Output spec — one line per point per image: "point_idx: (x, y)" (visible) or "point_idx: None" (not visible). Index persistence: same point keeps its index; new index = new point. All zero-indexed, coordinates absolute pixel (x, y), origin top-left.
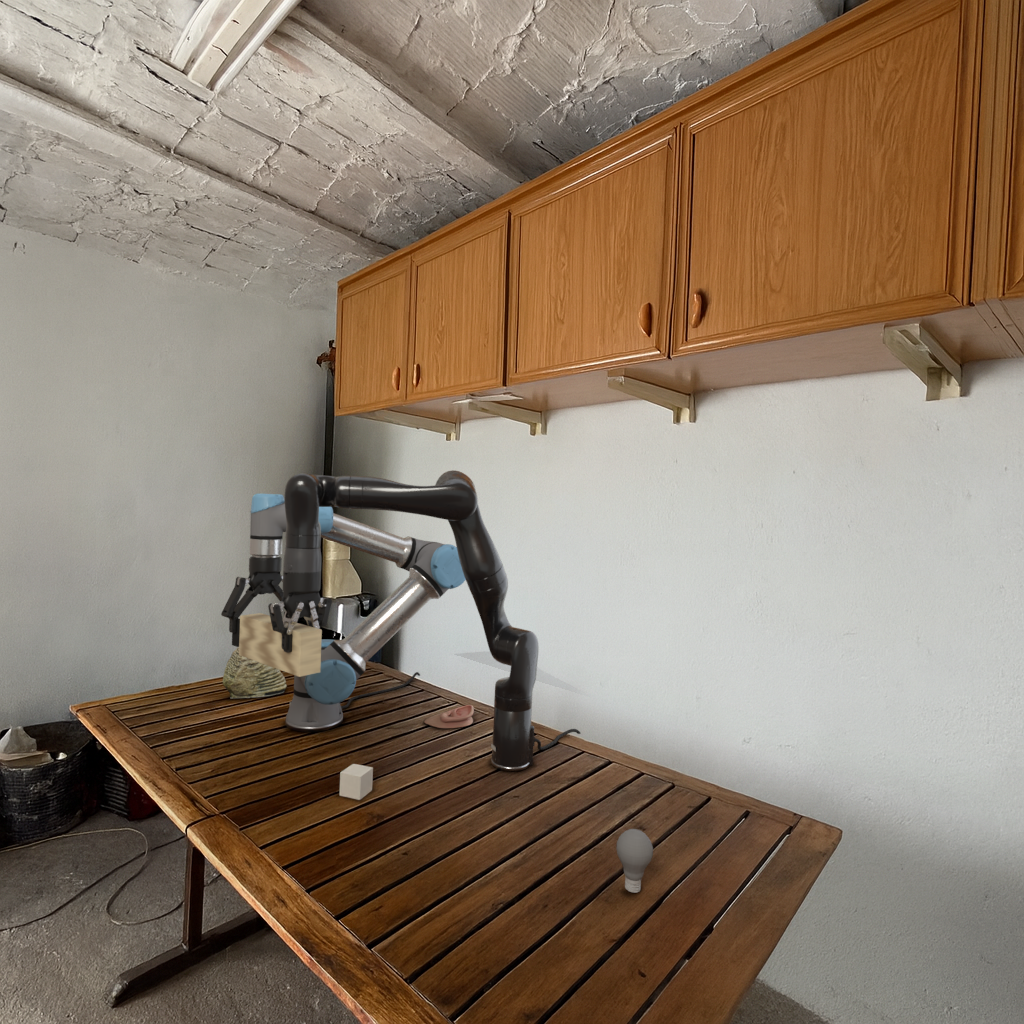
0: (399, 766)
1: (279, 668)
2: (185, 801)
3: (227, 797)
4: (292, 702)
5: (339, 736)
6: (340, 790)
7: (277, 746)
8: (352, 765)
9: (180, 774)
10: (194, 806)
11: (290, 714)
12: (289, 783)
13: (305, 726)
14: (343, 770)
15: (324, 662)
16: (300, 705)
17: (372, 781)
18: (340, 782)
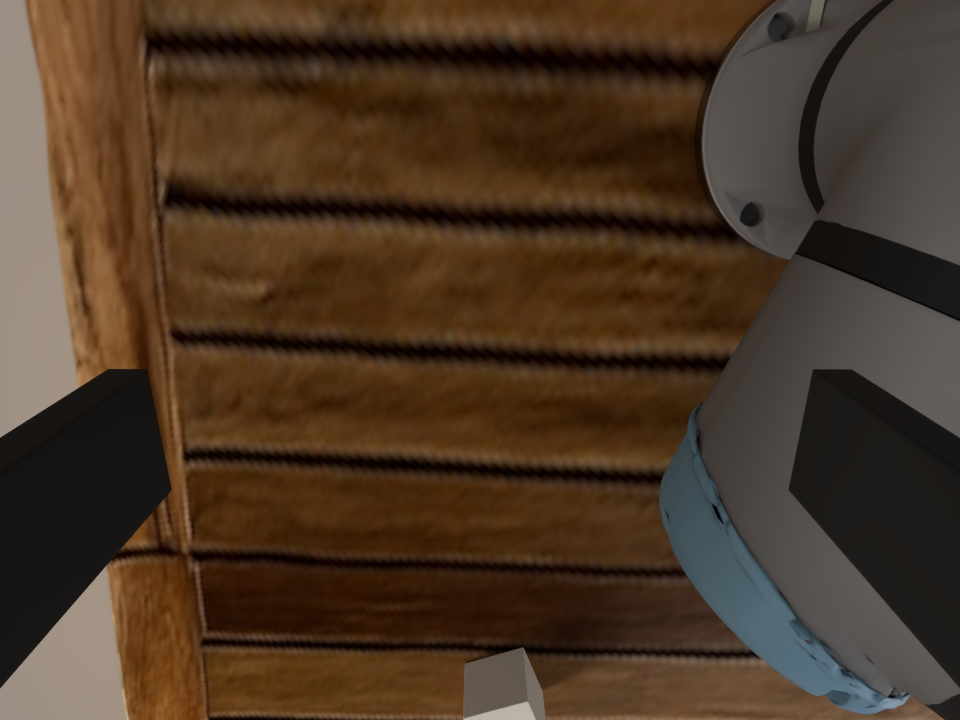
0: (698, 642)
1: None
2: None
3: (235, 493)
4: (784, 77)
5: None
6: (465, 676)
7: (544, 260)
8: (516, 709)
9: (167, 249)
10: None
11: (733, 104)
12: (409, 532)
13: (722, 212)
14: (476, 716)
15: (794, 650)
16: (771, 164)
17: (544, 712)
18: (464, 695)
